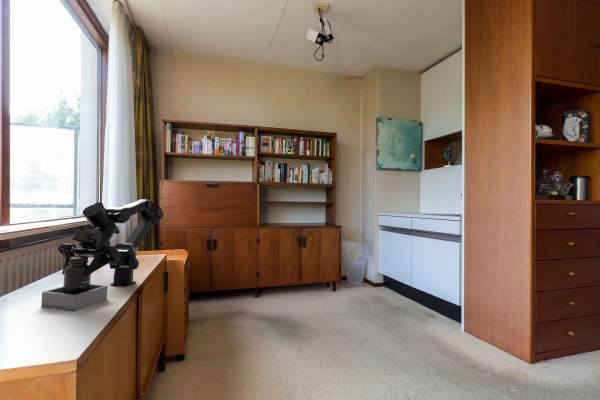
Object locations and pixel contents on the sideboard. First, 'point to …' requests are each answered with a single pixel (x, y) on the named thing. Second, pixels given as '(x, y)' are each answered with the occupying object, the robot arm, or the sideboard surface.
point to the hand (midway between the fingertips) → (74, 275)
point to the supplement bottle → (76, 276)
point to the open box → (73, 298)
